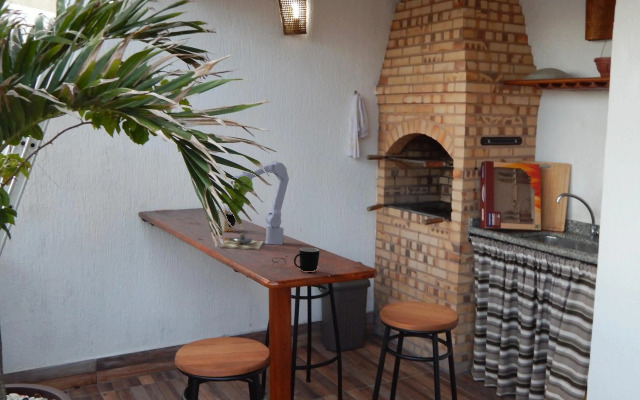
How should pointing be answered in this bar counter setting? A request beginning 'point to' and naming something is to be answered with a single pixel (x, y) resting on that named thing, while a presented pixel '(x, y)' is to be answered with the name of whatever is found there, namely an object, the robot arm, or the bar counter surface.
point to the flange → (239, 239)
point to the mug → (308, 259)
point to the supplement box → (224, 222)
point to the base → (242, 244)
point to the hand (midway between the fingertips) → (231, 226)
